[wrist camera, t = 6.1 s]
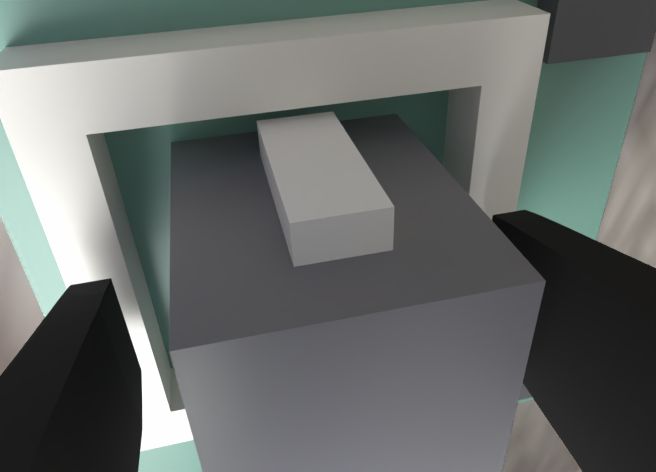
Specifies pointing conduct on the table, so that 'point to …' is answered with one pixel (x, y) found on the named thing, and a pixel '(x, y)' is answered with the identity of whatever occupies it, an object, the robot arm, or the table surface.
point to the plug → (342, 303)
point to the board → (285, 101)
